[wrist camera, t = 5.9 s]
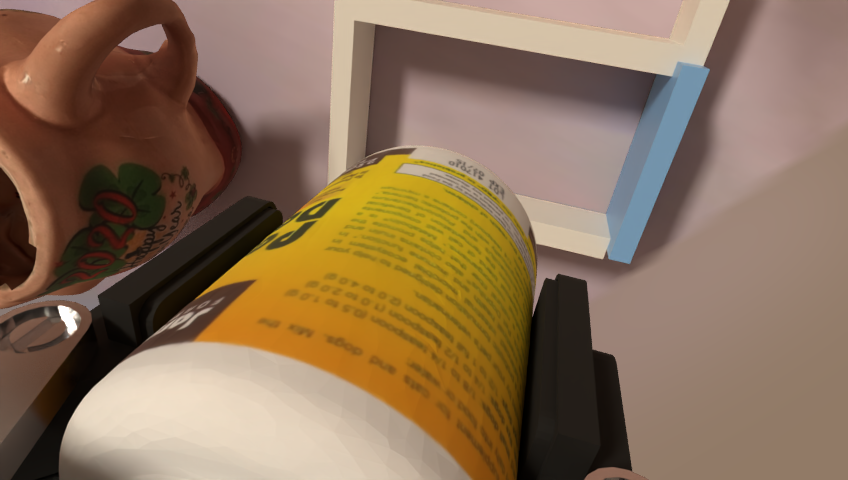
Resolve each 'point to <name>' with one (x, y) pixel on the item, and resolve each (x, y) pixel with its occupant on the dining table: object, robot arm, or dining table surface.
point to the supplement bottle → (339, 344)
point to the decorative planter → (101, 145)
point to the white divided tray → (668, 58)
